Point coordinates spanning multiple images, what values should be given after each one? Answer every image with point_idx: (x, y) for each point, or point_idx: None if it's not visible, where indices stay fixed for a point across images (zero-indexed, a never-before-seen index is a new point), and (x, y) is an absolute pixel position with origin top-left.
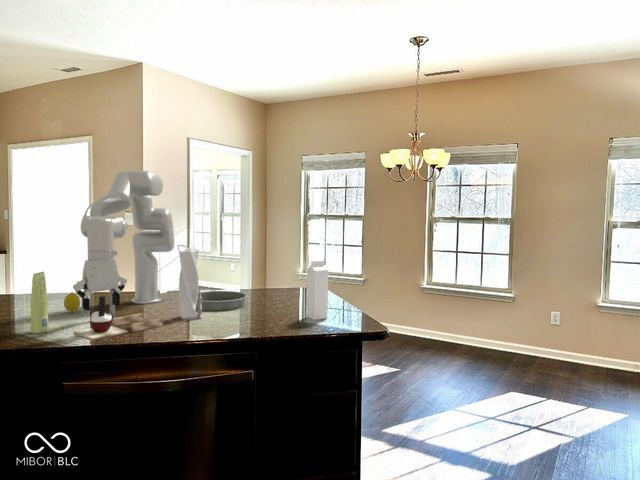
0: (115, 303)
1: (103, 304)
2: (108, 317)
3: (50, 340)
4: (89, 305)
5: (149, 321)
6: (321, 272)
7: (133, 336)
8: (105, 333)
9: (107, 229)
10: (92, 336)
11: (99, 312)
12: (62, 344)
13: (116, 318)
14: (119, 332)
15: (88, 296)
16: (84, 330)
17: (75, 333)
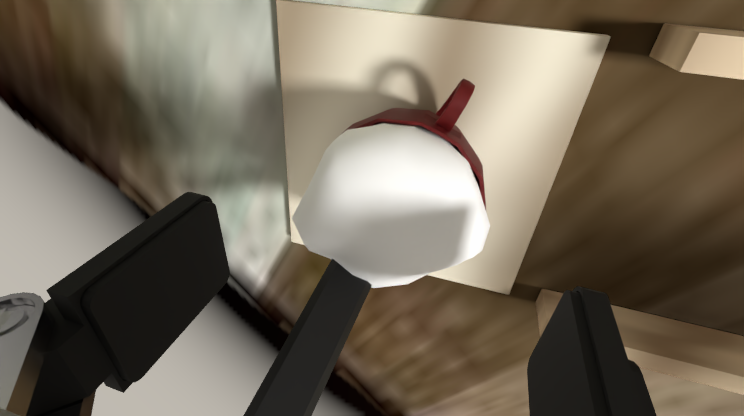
0: (540, 363)
1: (298, 404)
2: (412, 279)
3: (133, 62)
4: (191, 315)
5: (684, 377)
6: None
7: (456, 348)
8: None
9: None
10: None
11: (315, 301)
12: (173, 188)
13: (712, 74)
14: (450, 279)
15: (90, 409)
16: (349, 38)
17: (282, 38)
